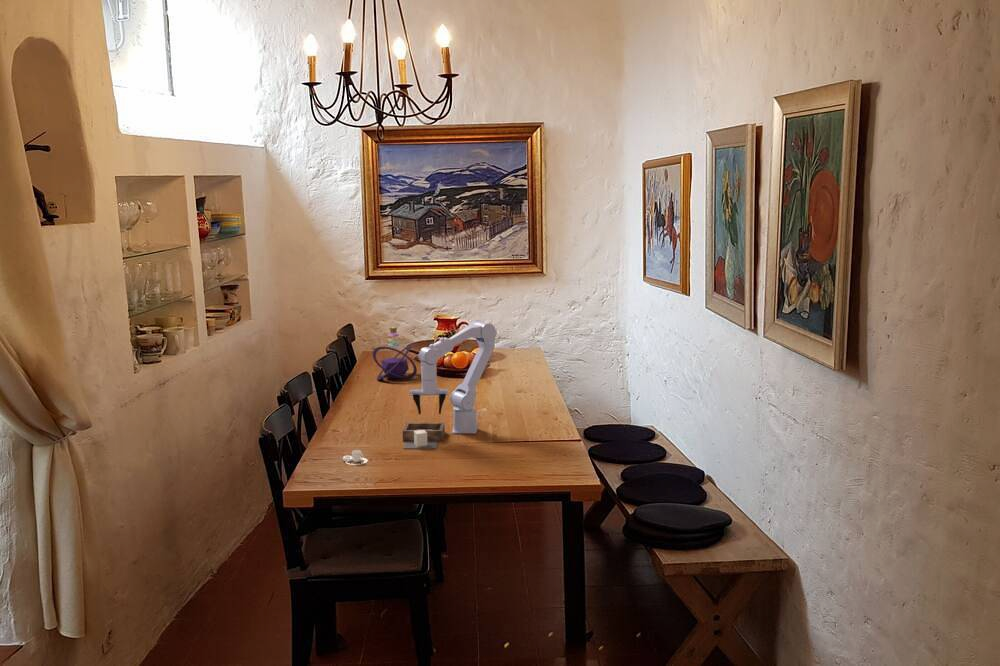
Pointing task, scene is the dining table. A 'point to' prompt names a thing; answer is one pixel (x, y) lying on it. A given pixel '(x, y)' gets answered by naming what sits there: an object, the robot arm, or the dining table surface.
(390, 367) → the decorative bottle
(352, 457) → the teacup and saucer
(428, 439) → the walnut box
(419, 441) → the cream block
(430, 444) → the charcoal mat
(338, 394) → the dining table surface
